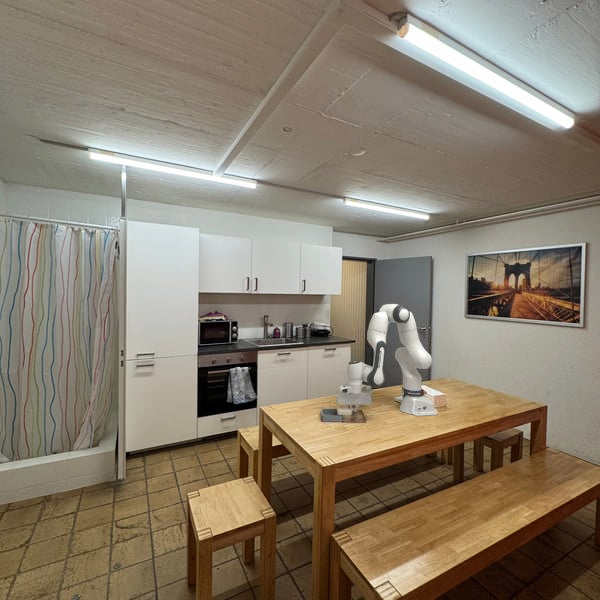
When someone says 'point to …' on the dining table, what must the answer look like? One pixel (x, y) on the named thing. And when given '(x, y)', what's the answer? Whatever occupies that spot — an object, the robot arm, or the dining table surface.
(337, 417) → the tray
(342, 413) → the tile
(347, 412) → the tile
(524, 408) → the dining table surface
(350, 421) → the board
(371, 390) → the stack of blocks
